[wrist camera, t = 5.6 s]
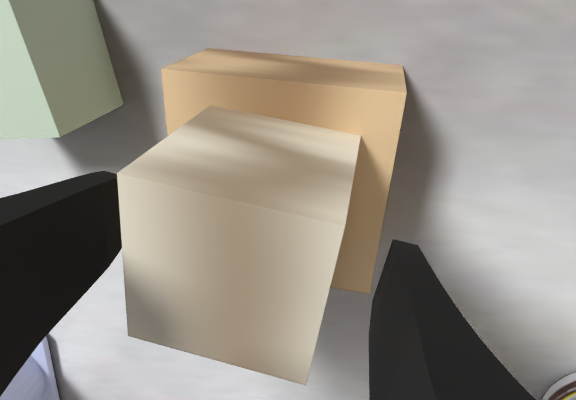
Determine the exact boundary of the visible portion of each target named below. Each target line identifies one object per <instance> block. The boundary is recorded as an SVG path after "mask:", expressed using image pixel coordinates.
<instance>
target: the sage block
mask: <svg viewBox="0 0 576 400" xmlns="http://www.w3.org/2000/svg"><path fill="white" fill-rule="evenodd" d="M122 105H124V104H123V101H122V97H121V94H120V90H119V87H118V84H117V80H116V77H115V73H114V70H113V66H112V63H111V60H110V56H109V53H108V49H107V46H106V42H105V39H104V36H103V32H102V29H101V25H100V22H99V18H98V15H97V12H96V8H95V5H94V1H93V0H0V140H8V139H31V138H54V137H62V136H64V135H66V134H67V133H69V132H71V131H73V130H75V129H77V128H79V127H81V126H83V125H85V124H87V123H89V122H91V121H93V120H95V119H97V118H99V117H101V116H103V115H105V114H107V113H109V112H111V111H112V110H114V109H116V108H118V107H120V106H122Z"/></svg>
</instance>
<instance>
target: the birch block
mask: <svg viewBox="0 0 576 400" xmlns="http://www.w3.org/2000/svg"><path fill="white" fill-rule="evenodd" d="M360 138H361V136H360V135H355V134H350V133H346V132H341V131H336V130H331V129H326V128H321V127H316V126H311V125H307V124H302V123H297V122H292V121H287V120H282V119H277V118H272V117H267V116H263V115H258V114H253V113H248V112H243V111H238V110H233V109H228V108H223V107H219V106H214V105H210V106H208V107H207V108H206V109H204V110H203V111H202V112H200V113H199V114H197V115H196V116H195V117H193V118H192V119H191V120H189V121H188V122H186V123H185V124H184V125H182V126H181V127H180V128H178V129H177V130H175V131H174V132H173V133H171V134H170V135H169V136H167V137H166V138H165V139H163V140H162V141H160V142H159V143H158V144H156V145H155V146H154V147H152V148H151V149H149V150H148V151H147V152H145V153H144V154H143V155H141V156H140V157H138V158H137V159H136V160H134V161H133V162H132V163H130V164H129V165H128V166H126V167H125V168H123V169H122V170H121V171H119V172H118V173H117V182H118V196H119V211H120V225H121V240H122V255H123V269H124V284H125V298H126V313H127V328H128V336H130V337H134V338H138V339H141V340H145V341H148V342H152V343H156V344H159V345H163V346H166V347H170V348H174V349H177V350H181V351H184V352H188V353H192V354H195V355H199V356H202V357H206V358H210V359H213V360H217V361H220V362H224V363H227V364H231V365H235V366H238V367H242V368H245V369H249V370H253V371H256V372H260V373H263V374H267V375H271V376H274V377H278V378H281V379H285V380H289V381H292V382H296V383H299V384H303V385H306V382H307V378H308V374H309V370H310V366H311V362H312V358H313V354H314V350H315V346H316V342H317V338H318V334H319V330H320V326H321V322H322V318H323V314H324V309H325V305H326V301H327V297H328V293H329V289H330V285H331V281H332V277H333V273H334V269H335V265H336V261H337V257H338V253H339V249H340V245H341V241H342V237H343V233H344V229H345V224H346V218H347V212H348V207H349V201H350V195H351V189H352V184H353V178H354V172H355V166H356V161H357V155H358V149H359V143H360Z"/></svg>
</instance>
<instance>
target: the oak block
mask: <svg viewBox="0 0 576 400" xmlns="http://www.w3.org/2000/svg"><path fill="white" fill-rule="evenodd" d="M161 74H162V84H163V94H164V104H165V114H166V124H167V135H168V136H169V135H170V134H171V133H173V132H174V131H175V130H177V129H178V128H180V127H181V126H182V125H184V124H185V123H186V122H188V121H189V120H191V119H192V118H193V117H195V116H196V115H197V114H199V113H200V112H202V111H203V110H204V109H206V108H207V107H208V106H210V105H214V106H219V107H223V108H228V109H233V110H238V111H243V112H248V113H253V114H258V115H263V116H267V117H272V118H277V119H282V120H287V121H292V122H297V123H302V124H307V125H311V126H316V127H321V128H326V129H331V130H336V131H341V132H346V133H350V134H355V135H360V136H361V138H360V143H359V149H358V155H357V161H356V166H355V172H354V178H353V184H352V189H351V195H350V201H349V207H348V212H347V218H346V224H345V229H344V233H343V237H342V241H341V245H340V249H339V253H338V257H337V261H336V265H335V269H334V273H333V277H332V281H331V285H330V287H331V288H337V289H342V290H348V291H354V292H360V293H366V294H370V291H371V285H372V280H373V274H374V269H375V264H376V258H377V253H378V247H379V242H380V236H381V231H382V225H383V220H384V214H385V209H386V204H387V198H388V193H389V187H390V182H391V176H392V171H393V165H394V160H395V154H396V149H397V144H398V138H399V133H400V127H401V122H402V116H403V111H404V105H405V100H406V95H407V90H406V84H405V77H404V71H403V65H394V64H382V63H370V62H359V61H347V60H336V59H324V58H313V57H301V56H290V55H278V54H267V53H255V52H244V51H232V50H221V49H209V48H208V49H205V50H203V51H201V52H199V53H196V54H194V55H192V56H189V57H187V58H185V59H183V60H180V61H178V62H176V63H173V64H171V65H169V66H167V67H164V68H162V69H161Z"/></svg>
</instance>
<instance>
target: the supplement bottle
mask: <svg viewBox="0 0 576 400" xmlns="http://www.w3.org/2000/svg"><path fill="white" fill-rule="evenodd" d="M542 400H576V372H574V373H572V374H569V375H567V376H565V377H563V378H562V379H560V380H559V381H557V382H556V383H555V384H553V385H552V386H551V387H550V388H549V389H548V391H547V392H546V393H545V395H544V397H543V399H542Z"/></svg>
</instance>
